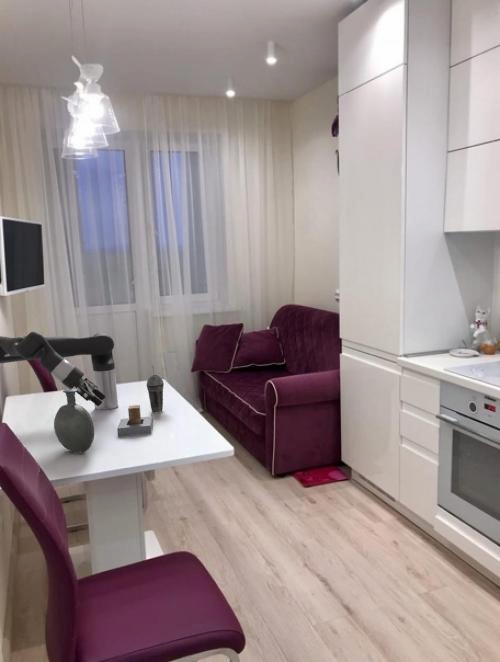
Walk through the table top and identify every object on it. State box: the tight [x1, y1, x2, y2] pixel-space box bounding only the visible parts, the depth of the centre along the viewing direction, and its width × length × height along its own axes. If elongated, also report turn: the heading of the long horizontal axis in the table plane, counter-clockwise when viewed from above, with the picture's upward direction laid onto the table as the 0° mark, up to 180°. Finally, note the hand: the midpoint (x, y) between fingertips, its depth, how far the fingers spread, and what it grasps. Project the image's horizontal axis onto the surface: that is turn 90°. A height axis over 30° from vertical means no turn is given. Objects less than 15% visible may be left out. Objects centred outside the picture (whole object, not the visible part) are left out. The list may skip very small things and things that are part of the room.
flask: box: [53, 388, 95, 454], centre depth 177 cm, size 12×17×22 cm
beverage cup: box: [146, 365, 164, 413], centre depth 222 cm, size 7×7×20 cm
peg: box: [127, 404, 142, 425], centre depth 199 cm, size 4×4×9 cm
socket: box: [116, 415, 154, 437], centre depth 199 cm, size 12×12×3 cm
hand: (102, 401), depth 197 cm, fingers open, 8 cm apart
